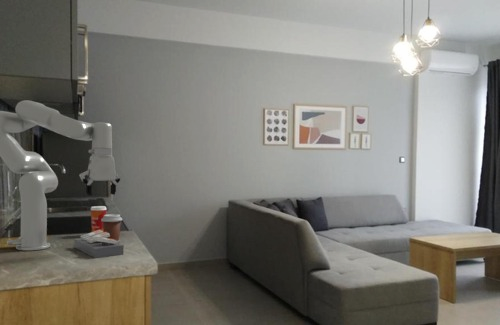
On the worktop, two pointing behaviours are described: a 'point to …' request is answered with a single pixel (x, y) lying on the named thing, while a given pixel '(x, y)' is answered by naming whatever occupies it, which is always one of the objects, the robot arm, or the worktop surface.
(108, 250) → the rocker switch panel
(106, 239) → the rocker near
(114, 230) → the coffee cup
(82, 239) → the plate
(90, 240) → the rocker middle
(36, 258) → the worktop surface
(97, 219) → the paper cup
